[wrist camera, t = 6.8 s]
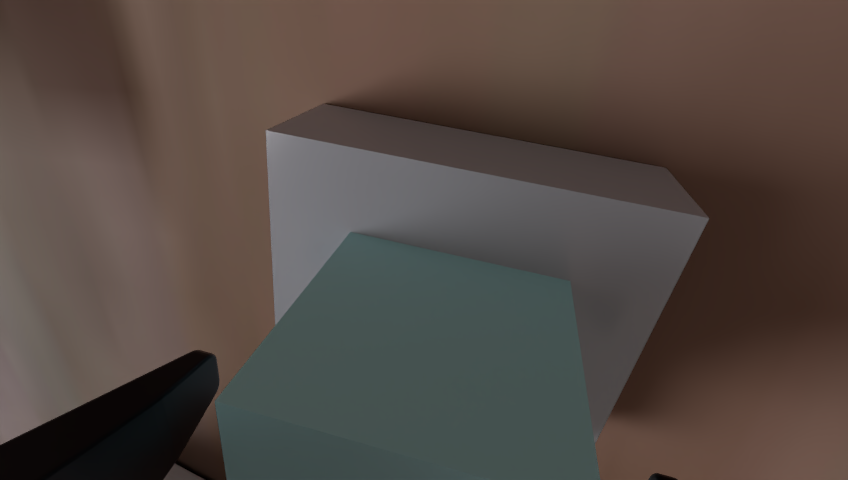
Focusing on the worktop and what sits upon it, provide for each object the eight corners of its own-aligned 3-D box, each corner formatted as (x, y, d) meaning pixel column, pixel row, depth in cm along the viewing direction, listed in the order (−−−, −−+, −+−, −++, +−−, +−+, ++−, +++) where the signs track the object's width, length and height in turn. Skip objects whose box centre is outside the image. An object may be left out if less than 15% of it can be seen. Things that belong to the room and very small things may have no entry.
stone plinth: (562, 411, 15) (569, 494, 13) (319, 348, 16) (279, 412, 14) (666, 167, 11) (709, 218, 8) (323, 103, 12) (266, 130, 9)
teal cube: (516, 431, 12) (508, 673, 8) (342, 384, 12) (242, 584, 8) (570, 281, 9) (605, 512, 5) (350, 231, 10) (215, 401, 6)
